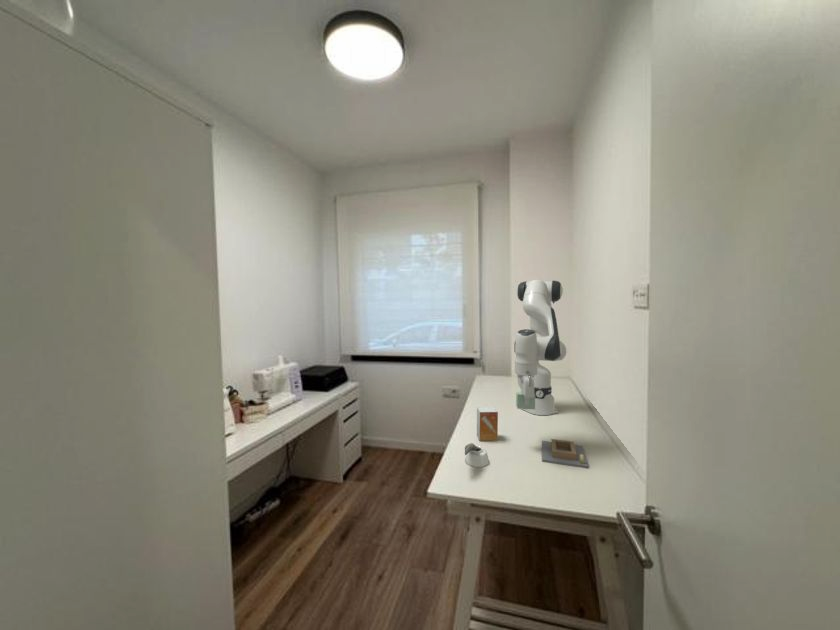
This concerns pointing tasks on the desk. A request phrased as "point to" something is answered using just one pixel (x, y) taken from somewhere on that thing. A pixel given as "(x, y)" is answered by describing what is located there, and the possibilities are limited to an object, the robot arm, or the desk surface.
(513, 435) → the desk surface
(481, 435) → the small box
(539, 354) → the robot arm
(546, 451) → the keyed plate
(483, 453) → the inkwell
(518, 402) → the sage block
